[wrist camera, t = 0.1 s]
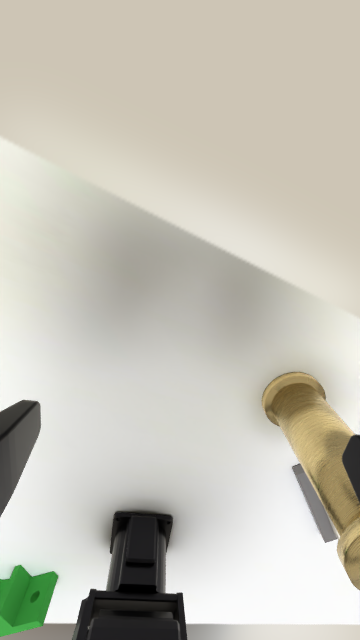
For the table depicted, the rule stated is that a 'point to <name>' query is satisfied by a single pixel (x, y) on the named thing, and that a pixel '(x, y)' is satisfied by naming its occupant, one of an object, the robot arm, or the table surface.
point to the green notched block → (24, 600)
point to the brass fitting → (319, 455)
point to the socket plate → (316, 506)
